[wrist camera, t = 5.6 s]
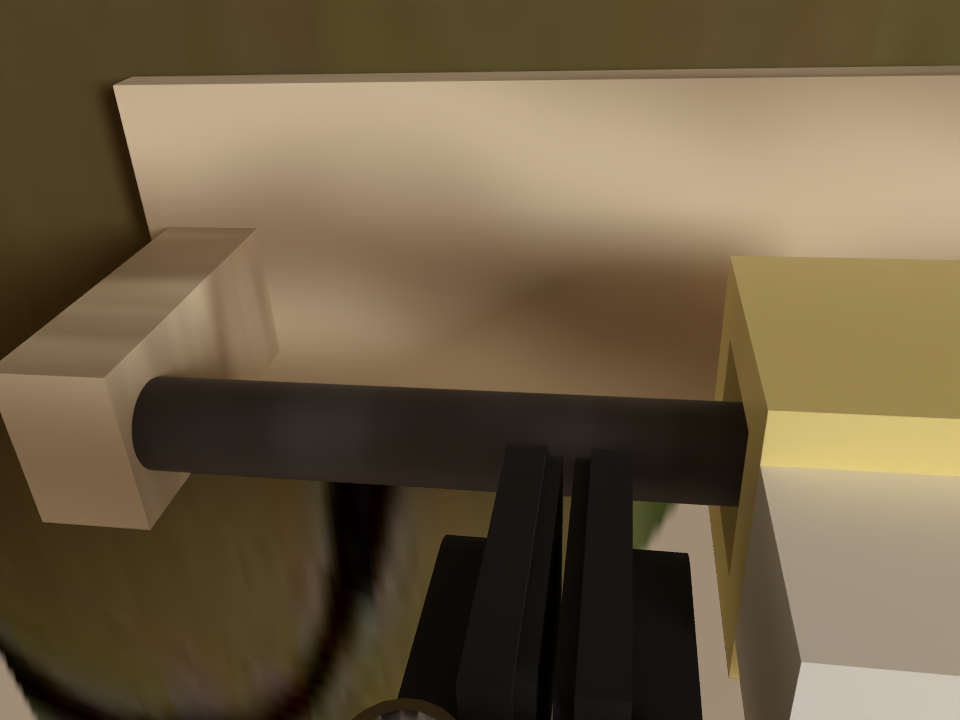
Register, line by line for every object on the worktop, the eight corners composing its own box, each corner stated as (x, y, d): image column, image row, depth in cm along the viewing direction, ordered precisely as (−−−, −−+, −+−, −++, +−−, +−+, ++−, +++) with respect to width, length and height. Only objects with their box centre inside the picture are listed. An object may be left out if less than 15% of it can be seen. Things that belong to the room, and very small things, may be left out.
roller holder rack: (132, 77, 18) (-142, 195, 12) (1336, 60, 14) (1880, 215, 8) (217, 432, 22) (53, 657, 16) (1151, 483, 19) (1411, 794, 13)
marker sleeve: (730, 255, 14) (815, 598, 7) (994, 260, 13) (1338, 639, 7) (705, 480, 16) (753, 892, 10) (930, 493, 16) (1141, 942, 9)
